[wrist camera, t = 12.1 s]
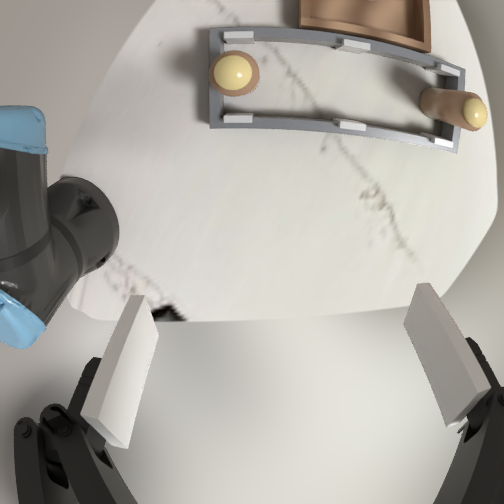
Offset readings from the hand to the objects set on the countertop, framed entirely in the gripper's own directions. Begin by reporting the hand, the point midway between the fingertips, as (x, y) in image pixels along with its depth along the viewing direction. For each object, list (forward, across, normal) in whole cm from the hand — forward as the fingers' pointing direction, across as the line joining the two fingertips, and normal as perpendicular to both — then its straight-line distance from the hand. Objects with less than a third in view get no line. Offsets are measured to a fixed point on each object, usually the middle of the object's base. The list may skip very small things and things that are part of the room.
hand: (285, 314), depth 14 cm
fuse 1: (+26, -2, +11) cm, 28 cm away
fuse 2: (+26, +22, +10) cm, 35 cm away
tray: (+26, +13, +24) cm, 37 cm away
